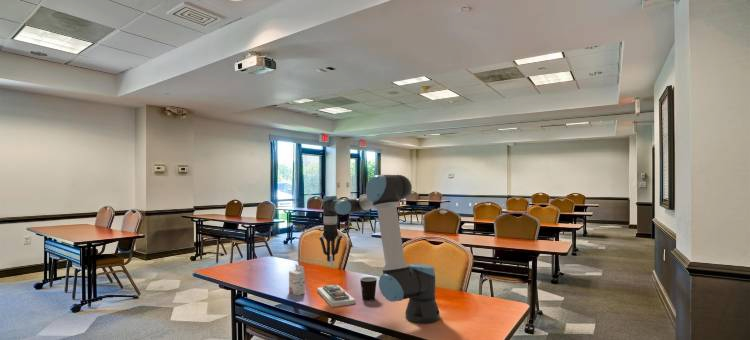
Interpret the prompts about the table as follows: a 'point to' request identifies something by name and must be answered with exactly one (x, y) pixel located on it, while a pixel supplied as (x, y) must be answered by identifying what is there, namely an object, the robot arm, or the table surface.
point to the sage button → (329, 286)
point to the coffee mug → (368, 287)
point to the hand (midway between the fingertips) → (330, 267)
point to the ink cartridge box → (297, 281)
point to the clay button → (339, 293)
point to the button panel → (335, 297)
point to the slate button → (334, 288)
